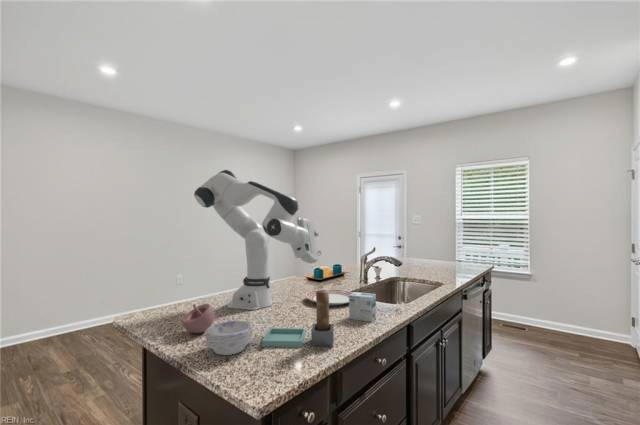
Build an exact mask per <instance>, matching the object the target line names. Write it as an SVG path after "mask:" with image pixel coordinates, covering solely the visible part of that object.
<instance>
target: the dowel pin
mask: <svg viewBox="0 0 640 425" xmlns="http://www.w3.org/2000/svg"><path fill="white" fill-rule="evenodd" d="M315 304H316V308H315V309H316V311H315V312H316V313H315V314H316V320H315V321H316V324H317V330H329V324H330V306H329V292H328V291H317V292H316V302H315Z"/></svg>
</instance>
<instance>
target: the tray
mask: <svg viewBox="0 0 640 425" xmlns="http://www.w3.org/2000/svg"><path fill="white" fill-rule="evenodd" d="M306 335H307V328H304V327H303V328H298V327H297V328H295V327H293V328H291V327H290V328H289V327H287V328H285V327H280V328H279V327H270V328H269V329H268V331H267V332H266V334H265V335H264V337H263V339H262V342H261V343H262V344H261V345H262V347H264V348H266V347H284V348H285V347H290V348H294V347H295V348H302V347H303V345H304V342H305V339H306Z"/></svg>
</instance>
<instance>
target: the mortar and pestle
mask: <svg viewBox="0 0 640 425" xmlns="http://www.w3.org/2000/svg"><path fill="white" fill-rule="evenodd" d="M192 307H193V309H191V310H190V311H189V312H187V314H185V315H184V316H183V318H182V321H181V323H182V326H183V327H184V329H185V330H186V331H187V332H189V333H192V334H201V333H205V332H206V330H207V329H208V328H209V327H210V326H212V325H213V324H214V320H215V310H214V309H213V307H212V305H210V304H209V303H203V304H200V305H196V304H192Z"/></svg>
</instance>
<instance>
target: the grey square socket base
mask: <svg viewBox="0 0 640 425" xmlns="http://www.w3.org/2000/svg"><path fill="white" fill-rule="evenodd" d="M334 331H335V330H334V323H329V330H317V322H315V323H314V322H313V324H312V327H311V334H310V335H311V339H310V340H311V347H312V348H334V337H335V334H334V333H335V332H334Z"/></svg>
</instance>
